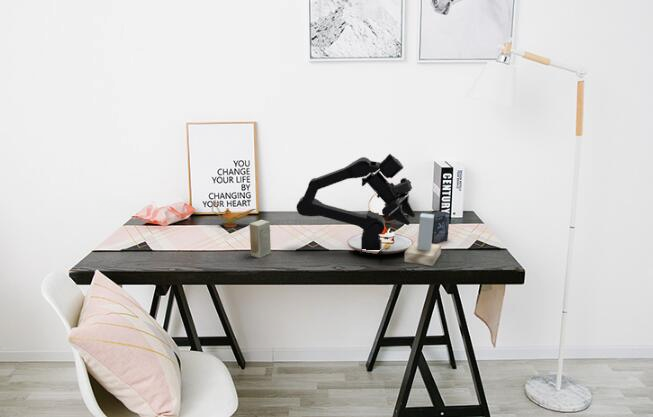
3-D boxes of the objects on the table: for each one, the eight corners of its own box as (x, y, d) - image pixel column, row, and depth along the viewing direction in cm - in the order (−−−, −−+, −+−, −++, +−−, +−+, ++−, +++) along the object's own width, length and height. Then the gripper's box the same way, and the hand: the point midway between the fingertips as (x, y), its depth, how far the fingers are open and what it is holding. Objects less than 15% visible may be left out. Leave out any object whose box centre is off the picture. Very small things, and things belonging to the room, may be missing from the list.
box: (433, 244, 232) (434, 217, 229) (422, 240, 237) (424, 213, 234) (448, 240, 237) (449, 214, 234) (437, 236, 241) (439, 210, 238)
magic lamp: (256, 227, 251) (255, 201, 247) (211, 228, 249) (210, 202, 246) (257, 222, 257) (256, 196, 254) (213, 223, 256) (212, 197, 253)
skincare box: (262, 250, 225) (261, 218, 221) (271, 253, 222) (270, 221, 219) (250, 255, 220) (248, 223, 217) (258, 258, 218) (257, 225, 214)
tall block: (417, 249, 216) (420, 216, 213) (418, 245, 221) (421, 213, 217) (430, 251, 215) (433, 218, 212) (431, 246, 220) (434, 214, 216)
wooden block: (404, 262, 216) (404, 252, 215) (413, 251, 226) (413, 241, 225) (432, 267, 212) (433, 256, 211) (440, 255, 223) (441, 245, 221)
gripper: (392, 178, 204) (424, 214, 204) (404, 166, 221) (433, 199, 221) (368, 199, 209) (399, 233, 209) (381, 186, 226) (410, 217, 226)
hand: (411, 220), depth 216 cm, fingers open, 9 cm apart
